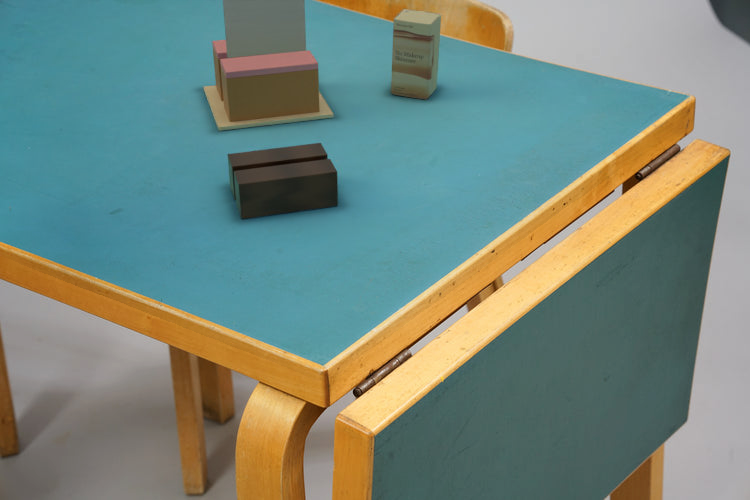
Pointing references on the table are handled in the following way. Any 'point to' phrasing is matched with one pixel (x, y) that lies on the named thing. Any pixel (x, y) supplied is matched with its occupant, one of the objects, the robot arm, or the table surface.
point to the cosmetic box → (415, 53)
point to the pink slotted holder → (265, 89)
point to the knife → (264, 27)
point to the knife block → (282, 180)
